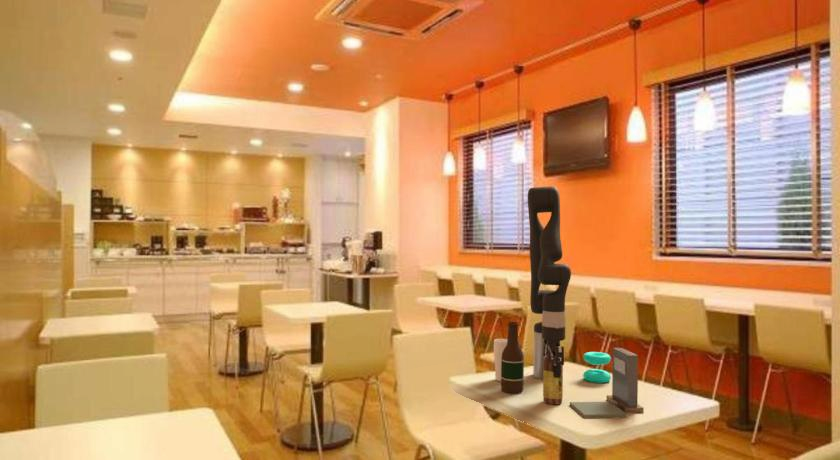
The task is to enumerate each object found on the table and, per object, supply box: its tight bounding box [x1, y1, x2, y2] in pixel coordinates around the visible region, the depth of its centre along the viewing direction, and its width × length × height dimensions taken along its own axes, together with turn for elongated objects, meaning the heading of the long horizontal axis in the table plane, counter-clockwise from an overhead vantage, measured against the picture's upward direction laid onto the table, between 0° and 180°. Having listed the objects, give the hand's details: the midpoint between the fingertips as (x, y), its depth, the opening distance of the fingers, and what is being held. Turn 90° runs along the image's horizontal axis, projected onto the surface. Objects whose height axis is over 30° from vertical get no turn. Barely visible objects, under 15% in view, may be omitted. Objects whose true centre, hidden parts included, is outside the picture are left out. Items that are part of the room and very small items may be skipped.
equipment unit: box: [606, 347, 644, 414], centre depth 189 cm, size 14×6×18 cm, turn 5°
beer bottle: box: [500, 321, 525, 395], centre depth 205 cm, size 8×8×24 cm
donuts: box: [582, 351, 612, 384], centre depth 222 cm, size 10×10×10 cm
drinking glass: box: [493, 338, 508, 382], centre depth 220 cm, size 7×7×15 cm
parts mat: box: [569, 401, 627, 419], centre depth 183 cm, size 13×13×1 cm
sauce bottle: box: [542, 341, 564, 405], centre depth 192 cm, size 7×6×20 cm
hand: (553, 374), depth 192 cm, fingers open, 8 cm apart
